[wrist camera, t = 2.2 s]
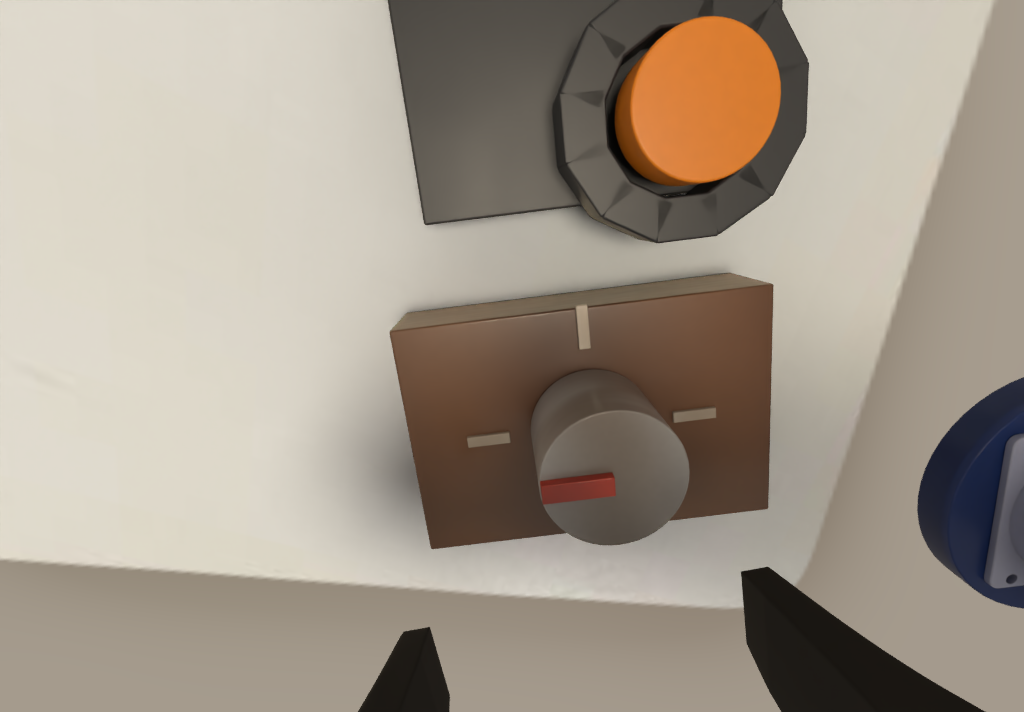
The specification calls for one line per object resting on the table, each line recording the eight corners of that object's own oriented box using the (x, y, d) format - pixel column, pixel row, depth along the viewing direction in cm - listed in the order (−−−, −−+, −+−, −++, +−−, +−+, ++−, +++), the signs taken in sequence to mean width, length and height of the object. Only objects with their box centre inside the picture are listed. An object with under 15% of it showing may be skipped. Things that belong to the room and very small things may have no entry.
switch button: (748, 31, 13) (784, 5, 11) (746, 177, 14) (780, 173, 12) (609, 49, 13) (626, 25, 11) (617, 194, 14) (634, 191, 12)
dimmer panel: (730, 269, 18) (777, 280, 15) (731, 470, 21) (771, 514, 18) (405, 310, 18) (387, 329, 15) (440, 505, 21) (430, 555, 18)
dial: (648, 361, 16) (693, 405, 12) (653, 473, 17) (696, 544, 14) (524, 376, 16) (531, 425, 12) (537, 487, 17) (548, 561, 14)
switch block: (747, -90, 15) (830, -190, 12) (744, 221, 18) (812, 224, 14) (390, -44, 15) (355, -129, 12) (438, 259, 18) (422, 272, 14)
